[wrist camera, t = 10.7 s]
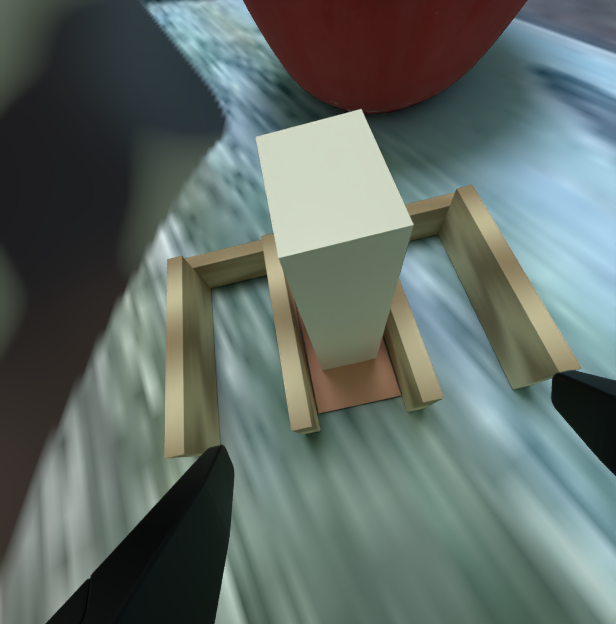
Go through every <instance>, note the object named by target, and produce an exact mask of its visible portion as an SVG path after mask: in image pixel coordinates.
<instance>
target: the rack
mask: <svg viewBox="0 0 616 624" xmlns="http://www.w3.org/2000/svg"><path fill="white" fill-rule="evenodd" d="M268 206H269V205H268ZM405 207H406V209H407V211H408V213H409V216H410V218H411V220H412V222H413V224H414V225H413V229H412V232H411V236H410V240H409V241H411V240H416V239H420V238H424V237H428V236H432V235H437V234H438V235H439V237H440V239H441V241H442V243H443V245H444V247H445V249H446V252H447V254H448V256H449V258H450V260H451V262H452V264H453V266H454V268H455V270H456V272H457V274H458V277H459V279H460V281H461V283H462V285H463V287H464V289H465V291H466V293H467V295H468V297H469V300H470V302H471V304H472V306H473V308H474V310H475V312H476V314H477V316H478V318H479V320H480V322H481V325H482V327H483V329H484V331H485V333H486V335H487V337H488V339H489V341H490V343H491V345H492V347H493V350H494V352H495V354H496V356H497V358H498V360H499V362H500V364H501V366H502V368H503V370H504V372H505V375H506V377H507V379H508V381H509V383H510V385H511V387H512V389H517V388H522V387H527V386H531V385H534V384H537V383H539V382H542V381H545V380H548V379H551V378H552V377H553V375H554V374H555V373H557V372H562V371H566V370H578V369H581V366H580V365H579V363H578V361H577V359H576V358H575V356H574V354H573V353H572V351H571V349H570V348H569V346H568V344H567V343H566V341H565V339H564V338H563V336H562V334H561V333H560V331H559V329H558V328H557V326H556V324H555V323H554V321H553V319H552V318H551V316H550V314H549V312H548V311H547V309H546V307H545V306H544V304H543V302H542V301H541V299H540V297H539V296H538V294H537V292H536V291H535V289H534V287H533V286H532V284H531V282H530V281H529V279H528V277H527V276H526V274H525V272H524V271H523V269H522V267H521V265H520V264H519V262H518V260H517V259H516V257H515V255H514V254H513V252H512V250H511V249H510V247H509V245H508V244H507V242H506V240H505V239H504V237H503V235H502V234H501V232H500V230H499V229H498V227H497V225H496V224H495V222H494V220H493V218H492V217H491V215H490V213H489V212H488V210H487V208H486V207H485V205H484V203H483V202H482V200H481V198H480V197H479V195H478V193H477V192H476V190H475V188H474V187H473V185H469V186H465V187H461V188H457V189H456V192H455V193H451V194H447V195H443V196H439V197H435V198H431V199H426V200H422V201H418V202H414V203H410V204H406V205H405ZM269 212H270V211H269ZM261 238H262V240H258V241H254V242H250V243H246V244H242V245H238V246H234V247H230V248H226V249H221V250H217V251H213V252H209V253H205V254H201V255H197V256H193V257H189V258H185V259H184V258H183V257H182V256H179V257H175V258H171V259H167V321H166V392H165V458H176V457H192V456H201V455H202V454H203V453H204V452H205V451H206V450H207V449H208V448H209V447H213V446H217V445H220V433H219V416H218V399H217V382H216V365H215V349H214V332H213V315H212V298H211V288H215V287H219V286H223V285H227V284H231V283H236V282H240V281H244V280H248V279H252V278H256V277H261V276H265V275H267V277H268V283H269V290H270V296H271V302H272V309H273V315H274V322H275V328H276V334H277V341H278V347H279V354H280V360H281V367H282V373H283V379H284V386H285V392H286V399H287V405H288V411H289V418H290V424H291V431H294V432H298V433H302V434H308V433H313V432H317V431H321V430H320V425H319V420H318V415H317V410H316V405H315V399H314V394H313V389H312V384H311V379H310V374H309V369H308V364H307V358H308V363H309V368H310V373H311V378H312V383H313V388H314V393H315V398H316V403H317V409H318V413H319V414H320V413H324V412H329V411H334V410H338V409H343V408H347V407H352V406H357V405H361V404H366V403H370V402H375V401H380V400H384V399H389V398H393V397H398V396H401V394H402V397H403V400H404V404H405V407H406V410H407V412H410V411H415V410H420V409H424V408H426V407H428V406H430V405H432V404H433V403H435V402H437V401H439V400H441V399H443V398H444V396H443V393H442V391H441V388H440V385H439V383H438V380H437V377H436V375H435V372H434V369H433V367H432V364H431V362H430V359H429V356H428V354H427V351H426V348H425V346H424V343H423V340H422V338H421V335H420V332H419V330H418V327H417V324H416V322H415V319H414V317H413V314H412V311H411V309H410V306H409V303H408V301H407V298H406V295H405V293H404V290H403V287H402V285H401V282H400V279H398V283H397V286H396V290H395V293H394V297H393V300H392V304H391V308H390V311H389V315H388V318H387V322H386V325H385V329H384V333H383V337H382V340H381V343H380V347H379V350H378V354H377V358H376V359H371V360H367V361H363V362H358V363H354V364H350V365H345V366H341V367H337V368H332V369H328V370H324V371H322V368H321V366H320V363H319V361H318V358H317V356H316V353H315V351H314V348H313V345H312V343H311V340H310V338H309V335H308V333H307V330H306V327H305V325H304V322H303V320H302V317H301V315H300V312H299V310H298V312H299V317H300V322H301V327H302V332H303V337H304V342H305V348H306V353H307V358H306V353H305V348H304V343H303V338H302V333H301V328H300V323H299V317H298V312H297V307H296V302H295V299H294V297H293V294H292V292H291V289H290V286H289V284H288V281H287V279H286V276H285V274H284V271H283V268H282V266H281V263H280V261H279V258H278V253H277V248H276V242H275V237H274V233H273V234H269V235H265V236H261ZM383 338H384V340H383ZM384 341H385V343H384ZM385 344H386V346H385ZM386 347H387V349H386ZM387 350H388V353H387ZM388 354H389V356H388ZM389 357H390V359H389ZM390 360H391V362H390ZM391 363H392V365H391ZM392 366H393V368H392ZM393 369H394V371H393ZM394 372H395V375H396V378H395V375H394ZM396 379H397V381H396ZM397 382H398V384H397ZM398 385H399V387H398ZM399 388H400V390H399ZM400 391H401V393H400Z"/></svg>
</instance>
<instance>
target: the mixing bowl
mask: <svg viewBox="0 0 616 624" xmlns="http://www.w3.org/2000/svg"><path fill="white" fill-rule="evenodd" d="M243 1H244V3H245V5H246V7H247V9H248V11H249V13H250V14H251V16H252V18H253V19H254V21H255V23H256V25H257V26H258V28H259V30H260V31H261V33H262V35H263V36H264V38H265V40H266V41H267V43H268V44H269V46H270V48H271V49H272V50H273V52H274V53H275V55H276V56H277V58H278V59H279V61H280V62H281V64H282V65H283V66H284V68H285V69H286V70H287V71H288V73H289V74H290V75H291V77H292V78H293V79H294V80H295V81H296V82H297V83H298V84H299V85H300V86H301V87H302V88H303V89H304V90H305V91H307V92H308V93H310V94H311V95H313V96H314V97H316V98H317V99H319V100H321V101H323V102H325V103H328V104H330V105H332V106H335V107H338V108H341V109H343V110H346V111H351V112H352V111H356V110H360V109H362V112H363V113H364V114H376V113H387V112H392V111H396V110H400V109H403V108H407V107H409V106H412V105H414V104H416V103H419V102H422V101H425V100H427V99H429V98H431V97H433V96H435V95H436V94H438V93H440V92H442V91H443V90H445V89H447V88H448V87H450V86H451V85H452V84H453V83H455V82H456V81H457V80H458V79H460V78H461V77H462V76H463V75H464V74H466V73H467V72H468V71H469V70H470V69H471V68H472V67H473V66H474V65H475V64H476V63H477V62H478V61H479V60H480V58H481V57H482V56H483V55H484V54H485V53H486V52H487V50H488V49H489V48H490V47H491V46H492V45H493V43H494V42H495V41H496V40H497V39H498V38H499V36H500V35H501V34H502V33H503V31H504V30H505V29H506V28H507V26H508V25H509V24H510V23H511V21H512V20H513V19H514V18H515V16H516V15H517V14H518V12H519V11H520V10H521V8H522V7H523V6H524V4H525V3H526V2H527V0H243Z"/></svg>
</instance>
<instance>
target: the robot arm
mask: <svg viewBox="0 0 616 624" xmlns="http://www.w3.org/2000/svg"><path fill="white" fill-rule="evenodd" d="M551 400H552V403H553V405H554V407H555V409H556V410H557V411H558V412H559V413H560V414H561V416H562V417H563V418H564V419H565V420H566V421H567V423H568V424H569V425H570V426H571V427H572V428H573V430H574V431H575V432H576V433H577V434H578V435H579V437H580V438H581V439H582V440H583V441H584V442H585V444H586V445H587V446H588V447H589V448H590V449H591V451H592V452H593V453H594V454H595V455H596V456H597V457H598V458H599V460H600V461H601V462H602V463H603V464H604V465H605V466H606V467H607V468H608V469H609V470H610V471H611V472H612V473H613V474H614V475H615V476H616V380H612V379H608V378H604V377H599V376H595V375H591V374H587V373H583V372H579V371H575V370H566V371H562V372H557V373H555V374H554V375H553V377H552V392H551ZM233 488H234V467H233V464H232V462H231V460H230V457H229V455H228V452H227V450H226V448H225V446H224V445H217V446H213V447H209V448H208V449H207V450H206V451H205V452H204V453H203V454H202V455H201V456H200V457H199V458H198V459H197V460H196V462H195V463H194V464H193V465H192V466H191V467H190V468H189V469H188V470H187V471H186V472H185V473H184V475H183V476H182V477H181V478H180V479H179V480H178V481H177V482H176V483H175V484H174V485H173V486H172V488H171V489H170V490H169V491H168V492H167V493H166V494H165V495H164V496H163V497H162V498H161V500H160V501H159V502H158V503H157V504H156V505H155V506H154V507H153V508H152V509H151V510H150V511H149V513H148V514H147V515H146V516H145V517H144V518H143V519H142V520H141V521H140V522H139V523H138V525H137V526H136V527H135V528H134V529H133V530H132V531H131V532H130V533H129V534H128V535H127V536H126V538H125V539H124V540H123V541H122V542H121V543H120V544H119V545H118V546H117V547H116V548H115V550H114V551H113V552H112V553H111V554H110V555H109V556H108V557H107V558H106V559H105V560H104V561H103V563H102V564H101V565H100V566H99V567H98V568H97V569H96V570H95V571H94V572H93V573H92V575H91V577H90V579H87V580H86V581H85V582H84V583H83V584H82V585H81V586H80V587H79V588H78V590H77V591H76V592H75V593H74V594H73V595H72V596H71V597H70V598H69V599H68V600H67V601H66V602H65V604H64V605H63V606H62V607H61V608H60V609H59V610H58V611H57V612H56V613H55V614H54V615H53V616H52V617H51V618H50V619H49V620H48V622H47V623H46V624H215V618H216V612H217V607H218V601H219V595H220V589H221V584H222V578H223V572H224V567H225V561H226V555H227V549H228V543H229V537H230V527H231V514H232V501H233Z"/></svg>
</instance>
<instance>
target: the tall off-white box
mask: <svg viewBox="0 0 616 624" xmlns="http://www.w3.org/2000/svg"><path fill="white" fill-rule="evenodd" d="M256 142H257V147H258V152H259V158H260V163H261V168H262V174H263V179H264V184H265V189H266V195H267V200H268V205H269V211H270V216H271V221H272V227H273V232H274V237H275V242H276V248H277V253H278V258H279V261H280V263H281V266H282V268H283V271H284V274H285V276H286V279H287V281H288V284H289V286H290V289H291V292H292V294H293V297H294V299H295V302H296V304H297V307H298V310H299V312H300V315H301V317H302V320H303V322H304V325H305V327H306V330H307V333H308V335H309V338H310V340H311V343H312V345H313V348H314V351H315V353H316V356H317V358H318V361H319V363H320V366H321V368H322V371H324V370H328V369H332V368H337V367H341V366H345V365H350V364H354V363H358V362H363V361H367V360H371V359H376V358H377V354H378V350H379V347H380V343H381V340H382V336H383V333H384V329H385V325H386V322H387V318H388V315H389V311H390V308H391V304H392V300H393V297H394V293H395V290H396V286H397V283H398V279H399V275H400V272H401V268H402V265H403V261H404V258H405V254H406V250H407V247H408V243H409V240H410V236H411V232H412V229H413V225H414V224H413V222H412V220H411V218H410V216H409V213H408V211H407V209H406V207H405V205H404V202H403V200H402V198H401V196H400V193H399V191H398V189H397V187H396V185H395V182H394V180H393V178H392V176H391V174H390V171H389V169H388V167H387V165H386V163H385V160H384V158H383V156H382V154H381V151H380V149H379V147H378V145H377V143H376V140H375V138H374V136H373V134H372V132H371V129H370V127H369V125H368V123H367V121H366V118H365V116H364V114H363V112H362V109H360V110H356V111H352V112H348V113H344V114H341V115H337V116H333V117H329V118H325V119H322V120H318V121H314V122H310V123H306V124H303V125H299V126H295V127H291V128H287V129H284V130H280V131H276V132H272V133H268V134H265V135H261V136H257V137H256Z"/></svg>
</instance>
